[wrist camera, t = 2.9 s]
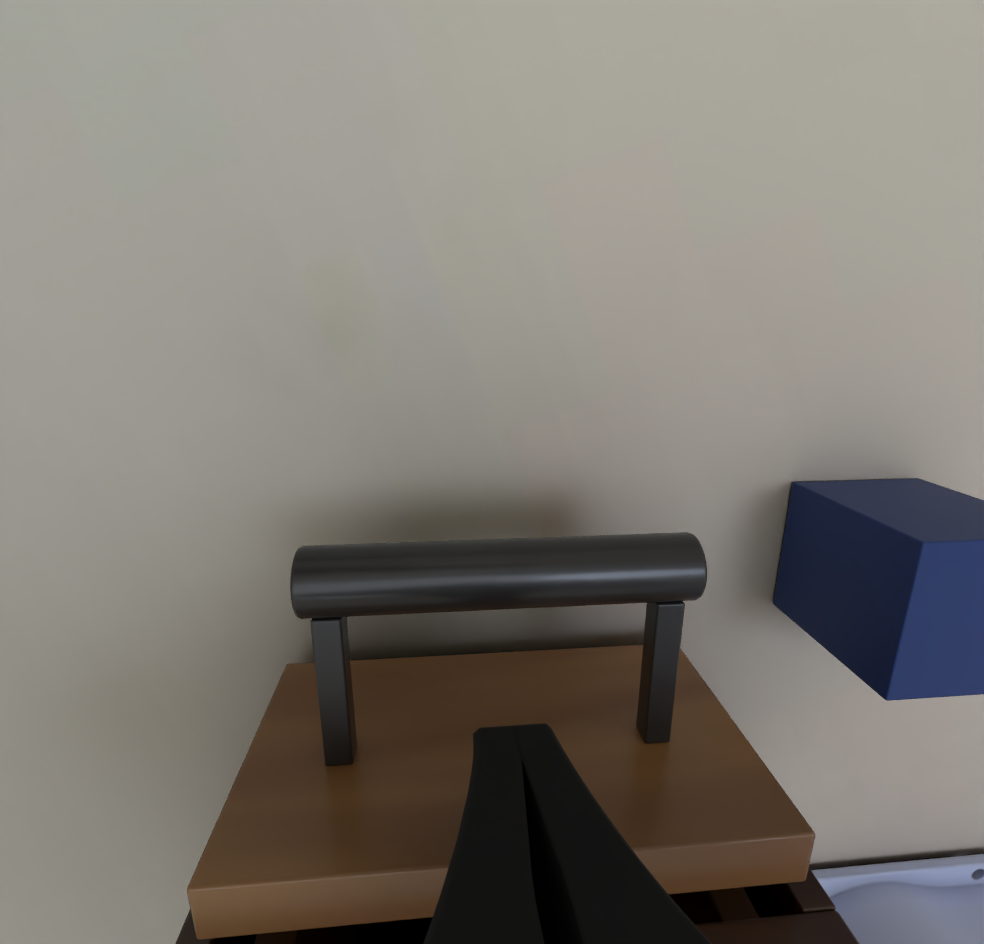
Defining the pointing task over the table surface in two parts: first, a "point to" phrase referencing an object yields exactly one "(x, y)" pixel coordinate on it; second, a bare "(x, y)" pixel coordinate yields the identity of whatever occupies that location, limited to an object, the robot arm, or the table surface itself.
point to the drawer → (449, 743)
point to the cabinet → (766, 940)
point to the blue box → (889, 582)
